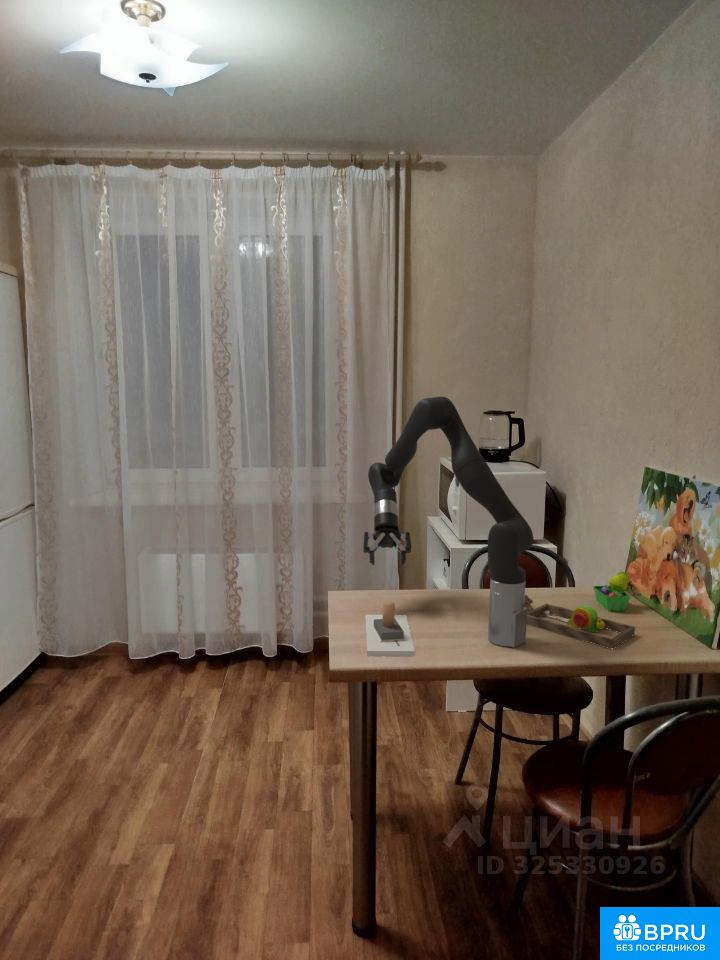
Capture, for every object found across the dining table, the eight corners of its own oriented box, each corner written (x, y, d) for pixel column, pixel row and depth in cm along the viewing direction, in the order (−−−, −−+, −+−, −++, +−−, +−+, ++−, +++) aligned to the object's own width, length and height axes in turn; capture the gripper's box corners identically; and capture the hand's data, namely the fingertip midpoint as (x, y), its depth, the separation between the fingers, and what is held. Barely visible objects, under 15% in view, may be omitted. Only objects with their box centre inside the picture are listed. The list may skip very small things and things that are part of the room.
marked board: (365, 619, 192) (365, 614, 192) (405, 619, 192) (406, 614, 192) (367, 656, 166) (367, 650, 166) (414, 656, 166) (414, 651, 166)
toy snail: (597, 637, 181) (599, 614, 180) (538, 617, 195) (539, 596, 194) (609, 631, 185) (611, 609, 184) (550, 612, 199) (551, 592, 198)
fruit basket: (591, 600, 210) (593, 567, 209) (617, 600, 211) (620, 566, 209) (606, 613, 199) (608, 577, 198) (634, 613, 200) (637, 577, 198)
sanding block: (373, 627, 182) (374, 598, 180) (394, 625, 183) (395, 596, 182) (381, 641, 172) (382, 610, 171) (403, 639, 173) (404, 609, 172)
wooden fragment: (538, 617, 196) (538, 614, 195) (501, 615, 197) (501, 612, 197) (527, 591, 221) (527, 588, 221) (494, 589, 222) (494, 586, 222)
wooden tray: (634, 635, 182) (635, 626, 181) (613, 649, 172) (613, 640, 171) (546, 611, 200) (546, 603, 200) (522, 622, 190) (522, 614, 190)
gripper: (363, 511, 197) (363, 557, 188) (410, 511, 198) (413, 557, 188) (362, 524, 203) (363, 570, 194) (408, 524, 204) (411, 570, 194)
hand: (387, 564), depth 191 cm, fingers open, 8 cm apart
